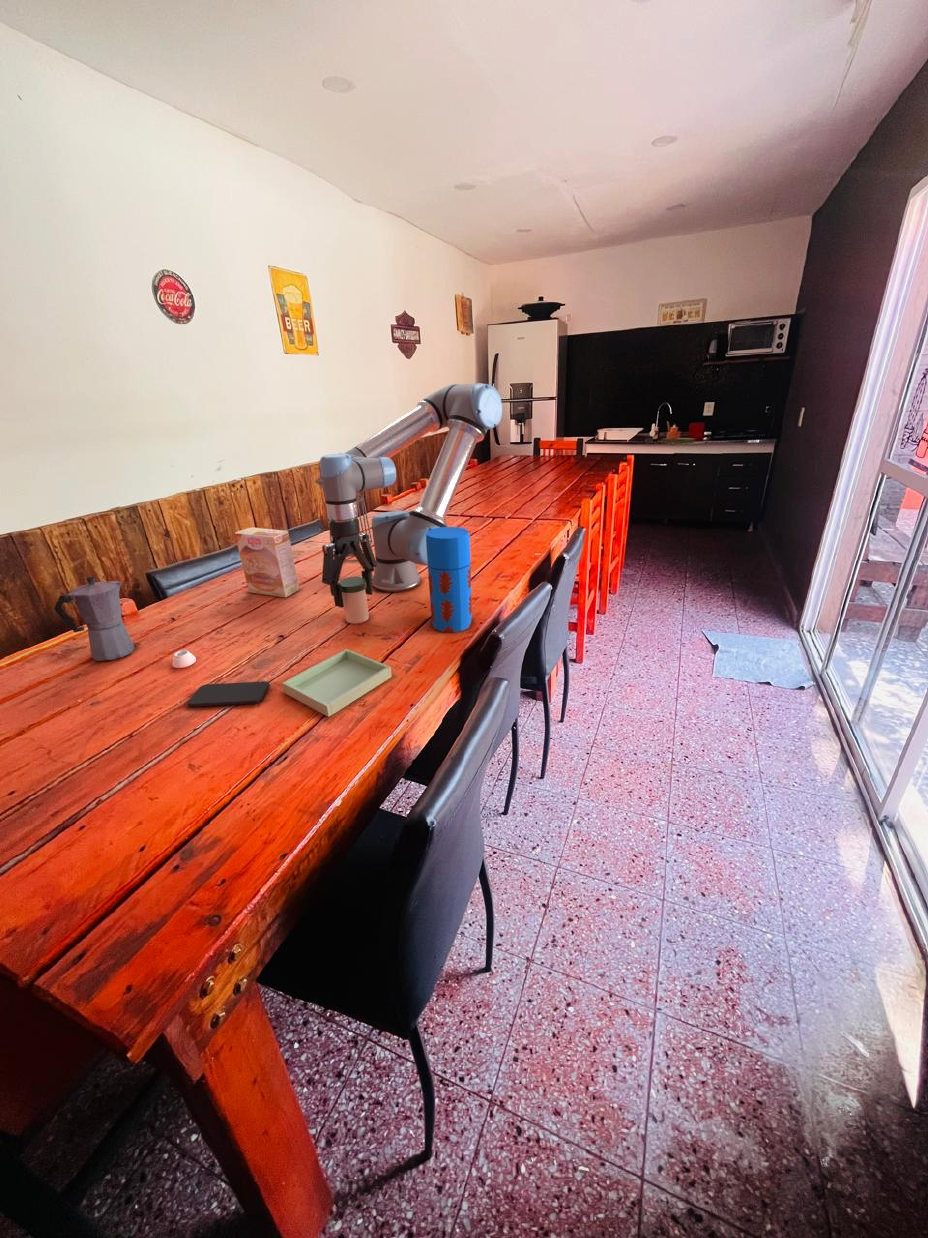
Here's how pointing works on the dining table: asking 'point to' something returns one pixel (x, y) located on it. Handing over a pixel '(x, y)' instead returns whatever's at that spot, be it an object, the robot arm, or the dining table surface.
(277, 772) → the dining table surface
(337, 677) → the tray
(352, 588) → the jar lid
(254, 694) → the phone
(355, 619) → the jar
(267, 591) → the coffeecake box
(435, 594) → the thermos
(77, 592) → the moka pot
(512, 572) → the dining table surface
